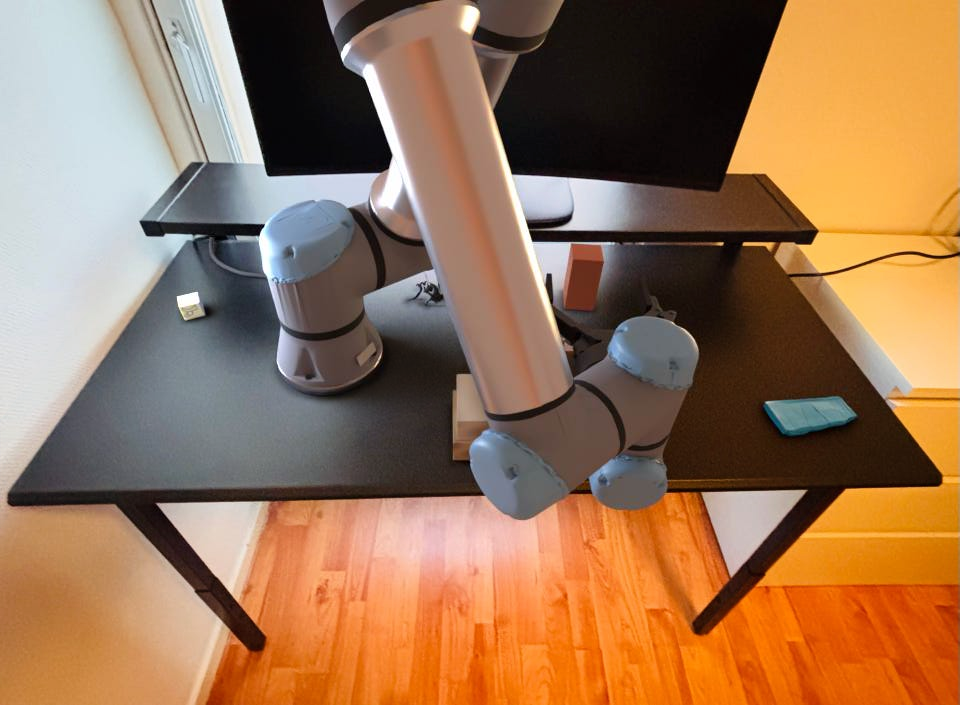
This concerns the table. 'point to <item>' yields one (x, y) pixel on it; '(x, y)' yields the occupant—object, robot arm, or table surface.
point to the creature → (435, 296)
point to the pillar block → (582, 276)
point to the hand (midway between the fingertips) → (594, 283)
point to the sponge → (808, 414)
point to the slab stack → (466, 416)
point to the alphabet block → (191, 306)
